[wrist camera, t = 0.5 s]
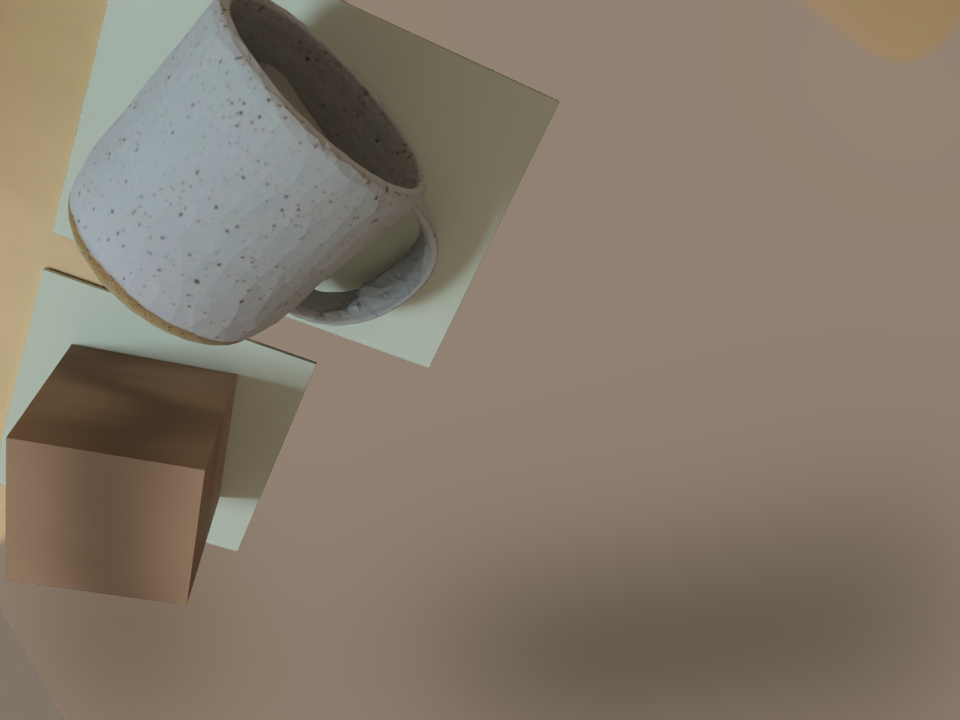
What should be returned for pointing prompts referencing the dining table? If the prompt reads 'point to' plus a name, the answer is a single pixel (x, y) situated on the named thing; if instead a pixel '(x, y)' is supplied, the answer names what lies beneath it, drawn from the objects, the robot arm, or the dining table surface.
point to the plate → (113, 327)
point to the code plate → (417, 109)
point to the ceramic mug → (249, 184)
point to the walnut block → (117, 475)
